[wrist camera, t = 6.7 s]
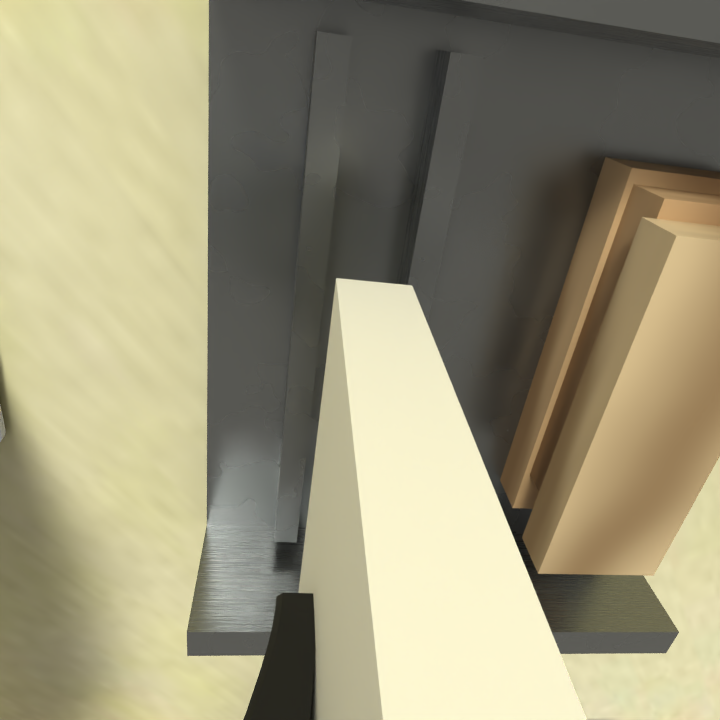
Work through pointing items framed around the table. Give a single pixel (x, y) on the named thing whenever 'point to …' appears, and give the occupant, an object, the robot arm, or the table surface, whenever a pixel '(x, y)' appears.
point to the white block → (414, 540)
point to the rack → (416, 241)
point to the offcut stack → (625, 378)
